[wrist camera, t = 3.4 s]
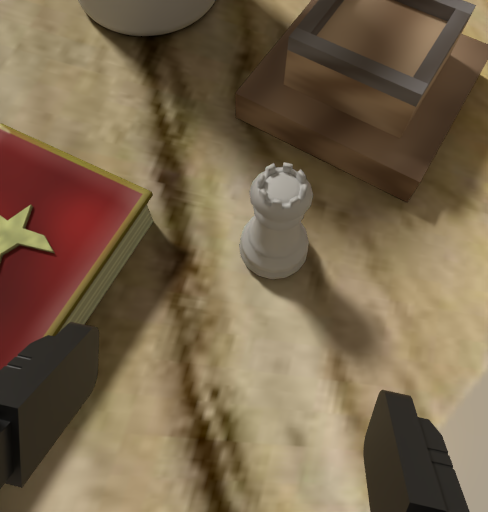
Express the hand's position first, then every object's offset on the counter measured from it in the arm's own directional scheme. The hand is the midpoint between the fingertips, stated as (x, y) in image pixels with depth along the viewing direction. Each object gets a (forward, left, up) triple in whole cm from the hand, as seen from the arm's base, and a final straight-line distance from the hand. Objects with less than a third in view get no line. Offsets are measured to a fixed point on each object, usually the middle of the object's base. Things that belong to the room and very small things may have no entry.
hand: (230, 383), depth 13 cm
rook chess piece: (-4, +10, -14) cm, 18 cm away
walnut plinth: (-5, +25, -14) cm, 29 cm away
